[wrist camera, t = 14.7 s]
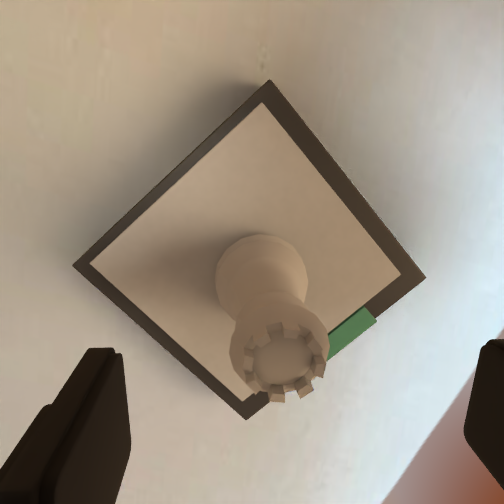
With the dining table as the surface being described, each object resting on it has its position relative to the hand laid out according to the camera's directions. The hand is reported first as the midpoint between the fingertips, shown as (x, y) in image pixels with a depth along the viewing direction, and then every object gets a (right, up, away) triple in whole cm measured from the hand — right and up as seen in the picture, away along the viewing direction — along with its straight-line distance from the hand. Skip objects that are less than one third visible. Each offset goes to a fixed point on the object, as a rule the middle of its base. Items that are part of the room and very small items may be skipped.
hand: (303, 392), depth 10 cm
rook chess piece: (-1, +2, +9) cm, 10 cm away
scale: (-1, +3, +12) cm, 13 cm away
